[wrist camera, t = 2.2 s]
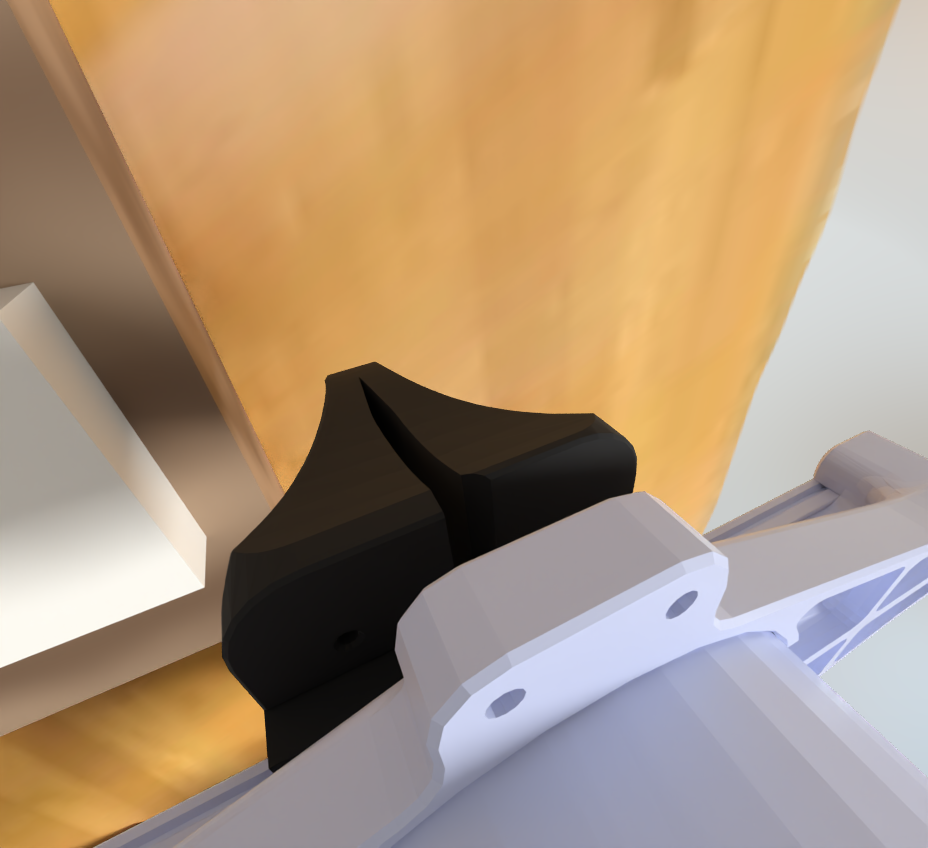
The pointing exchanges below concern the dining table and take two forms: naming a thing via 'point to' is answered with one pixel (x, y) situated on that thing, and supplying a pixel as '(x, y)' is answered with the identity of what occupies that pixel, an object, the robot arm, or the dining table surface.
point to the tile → (77, 495)
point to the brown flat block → (116, 351)
